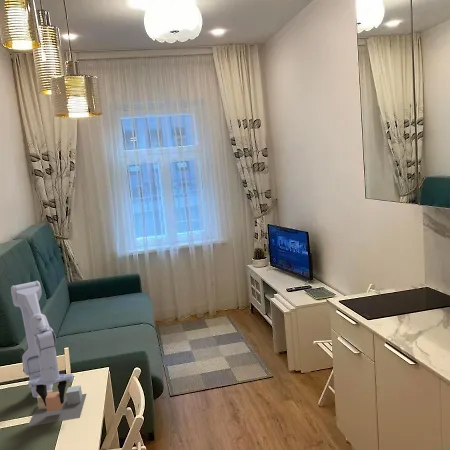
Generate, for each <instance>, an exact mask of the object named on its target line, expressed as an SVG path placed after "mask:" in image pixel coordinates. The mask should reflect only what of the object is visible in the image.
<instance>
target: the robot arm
mask: <svg viewBox="0 0 450 450" xmlns="http://www.w3.org/2000/svg"><path fill="white" fill-rule="evenodd" d="M42 291H43V290H42V286H41V282H40V281H38V280H35V281H31V282H26V283H21V284H16V285H13V284H12V285H11V287H10V293H11V298H12V303H13V306H14V307H17V308H19V309H20V311H21V316H22V321H23V327H24V332H25V336H26V342H27V346H28V348H27V350H26V351H25V352H24V353H23V354H22V356H21V358H22V369H23V372H24V374H25V375H26V376H28V378H29V381H28V382H27V385H28V388H29V389H31V394H32V395H31V397H33V398H34V399H35V398H36V399H37V397H38V395H40V396H41V398H42V400H43V401H44V404H45V406H46V401H45V399H46V396H47V391H49V390H53V387H54V385H55V384H58V385H57V389H58V391H59V394H60V402H61V404H63V402H64V397H65V393H66V392H65V391H66V387H67V383H68V382H70V383H71V382H74V379H75V378H74V373H66V374H65V373H61V374H60V370H59V363H58V358H57V351H56V346H57V336H56V334H55V331H54V330H53V328H52V327H51V326H50V324H49V321H48V318H47V316H46V315H45V314H43V313H42V311H41V307H40V303H39V301H40V299H41V298H42V294H43V292H42Z"/></svg>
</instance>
